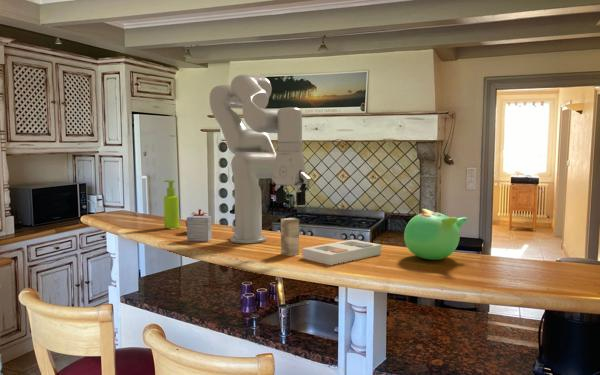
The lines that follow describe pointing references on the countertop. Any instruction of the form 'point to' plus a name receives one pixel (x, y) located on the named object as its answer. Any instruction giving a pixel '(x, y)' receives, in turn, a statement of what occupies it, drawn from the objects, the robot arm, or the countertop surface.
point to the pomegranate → (197, 215)
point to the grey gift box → (199, 228)
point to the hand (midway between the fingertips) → (290, 204)
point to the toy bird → (433, 234)
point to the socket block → (341, 251)
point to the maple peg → (290, 236)
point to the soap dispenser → (171, 207)
